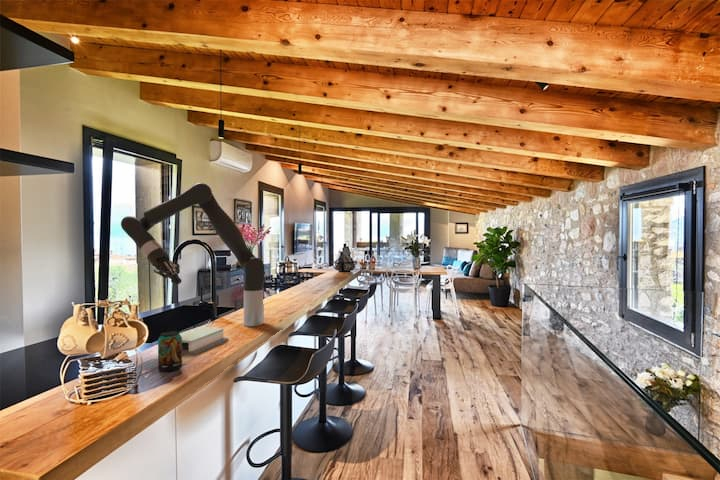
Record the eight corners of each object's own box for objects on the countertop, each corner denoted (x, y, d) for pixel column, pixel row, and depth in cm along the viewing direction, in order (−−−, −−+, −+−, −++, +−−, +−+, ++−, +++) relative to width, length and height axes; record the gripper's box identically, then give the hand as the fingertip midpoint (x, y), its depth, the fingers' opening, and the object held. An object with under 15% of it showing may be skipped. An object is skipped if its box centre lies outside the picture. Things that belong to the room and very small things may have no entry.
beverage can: (166, 374, 121) (166, 337, 121) (153, 370, 125) (153, 333, 125) (186, 367, 127) (186, 332, 127) (173, 363, 131) (173, 329, 131)
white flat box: (196, 337, 164) (196, 327, 164) (228, 340, 159) (228, 330, 159) (159, 351, 144) (159, 340, 144) (194, 355, 140) (194, 344, 140)
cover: (199, 328, 163) (199, 326, 163) (223, 330, 159) (223, 328, 159) (165, 340, 144) (165, 338, 144) (191, 343, 141) (191, 341, 141)
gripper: (147, 248, 154) (172, 278, 151) (171, 246, 167) (195, 275, 164) (137, 260, 156) (161, 291, 152) (162, 258, 168) (185, 286, 165)
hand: (179, 283), depth 158 cm, fingers closed
